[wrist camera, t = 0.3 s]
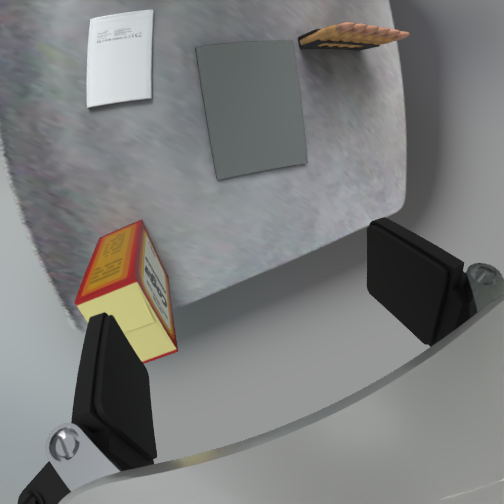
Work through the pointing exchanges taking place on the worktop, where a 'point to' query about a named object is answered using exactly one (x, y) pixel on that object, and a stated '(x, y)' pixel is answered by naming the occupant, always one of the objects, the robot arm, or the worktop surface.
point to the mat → (252, 106)
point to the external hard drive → (119, 58)
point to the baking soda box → (131, 291)
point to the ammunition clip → (349, 37)
